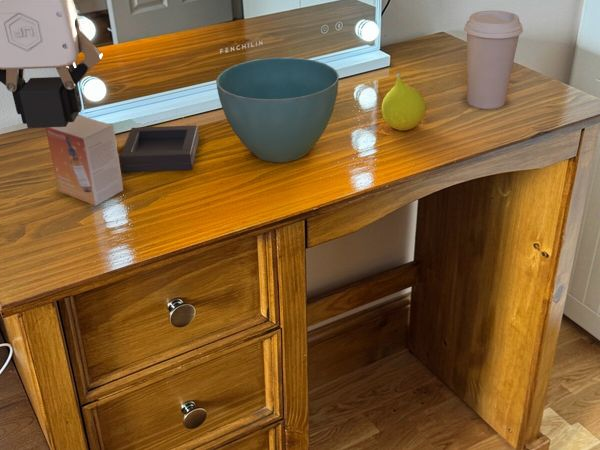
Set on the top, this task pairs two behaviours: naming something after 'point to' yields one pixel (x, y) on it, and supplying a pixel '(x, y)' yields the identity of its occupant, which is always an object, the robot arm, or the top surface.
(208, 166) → the top surface
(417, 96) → the ornament
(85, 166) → the small box
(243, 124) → the teal bowl
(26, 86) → the black cube
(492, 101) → the coffee cup
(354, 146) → the top surface
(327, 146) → the top surface
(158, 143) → the small dark tray
